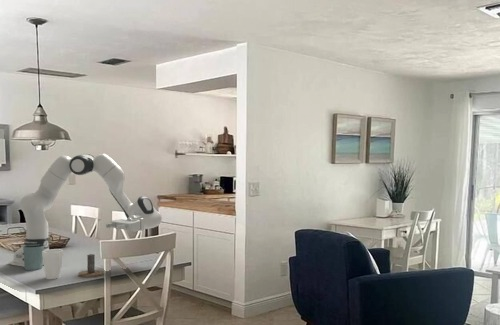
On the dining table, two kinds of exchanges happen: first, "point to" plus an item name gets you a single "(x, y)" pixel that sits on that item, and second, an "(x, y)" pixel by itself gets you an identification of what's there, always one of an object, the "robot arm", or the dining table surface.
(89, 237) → the dining table surface
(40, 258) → the teal canister
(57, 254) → the foam cup
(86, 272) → the cover
